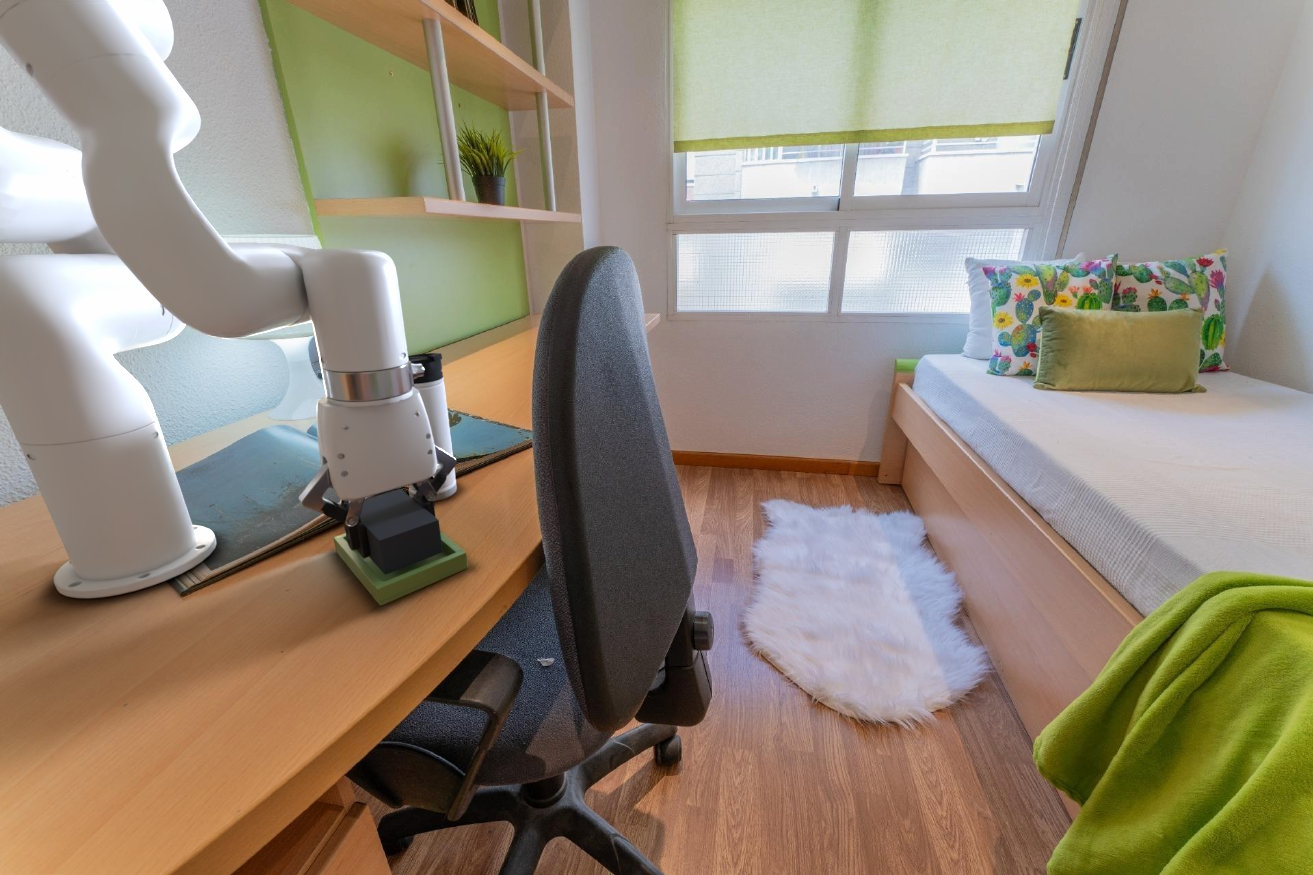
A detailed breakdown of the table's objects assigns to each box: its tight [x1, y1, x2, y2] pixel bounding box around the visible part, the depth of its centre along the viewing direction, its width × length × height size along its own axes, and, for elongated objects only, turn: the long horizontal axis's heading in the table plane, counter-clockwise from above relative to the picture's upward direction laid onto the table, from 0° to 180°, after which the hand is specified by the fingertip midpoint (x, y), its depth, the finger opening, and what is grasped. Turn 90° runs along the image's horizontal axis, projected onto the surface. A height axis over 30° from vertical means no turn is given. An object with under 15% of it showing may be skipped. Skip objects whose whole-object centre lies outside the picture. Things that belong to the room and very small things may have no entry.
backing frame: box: [332, 530, 469, 607], centre depth 58 cm, size 13×9×2 cm
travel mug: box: [408, 352, 458, 502], centre depth 70 cm, size 6×7×20 cm
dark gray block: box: [360, 488, 443, 575], centre depth 57 cm, size 10×6×4 cm, turn 46°
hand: (394, 539), depth 57 cm, fingers closed on dark gray block, 6 cm apart
